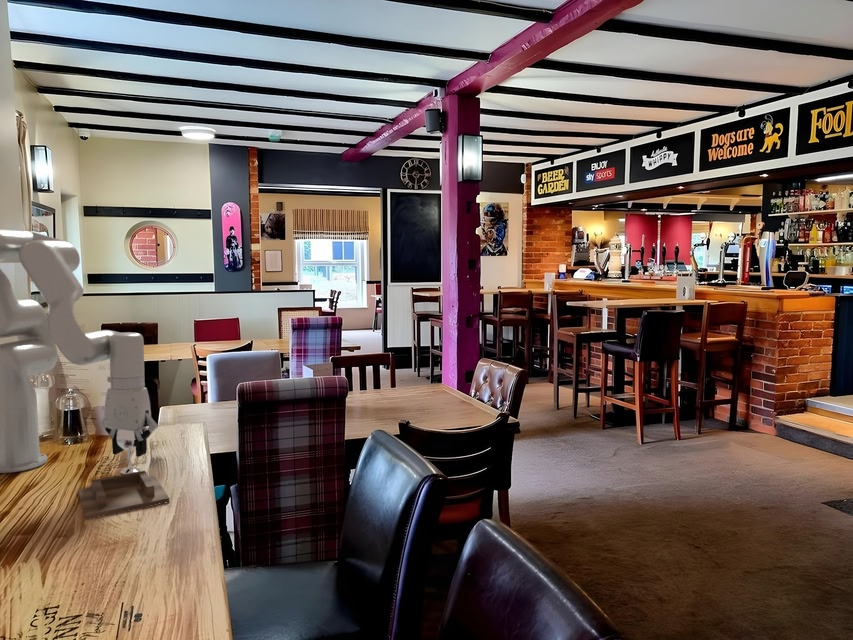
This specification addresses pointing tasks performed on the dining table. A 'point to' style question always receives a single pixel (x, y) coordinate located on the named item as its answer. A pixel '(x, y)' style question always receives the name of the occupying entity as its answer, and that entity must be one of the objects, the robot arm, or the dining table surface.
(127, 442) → the wineglass
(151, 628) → the dining table surface
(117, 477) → the u rest
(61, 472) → the dining table surface
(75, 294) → the robot arm
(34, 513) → the dining table surface
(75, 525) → the dining table surface
